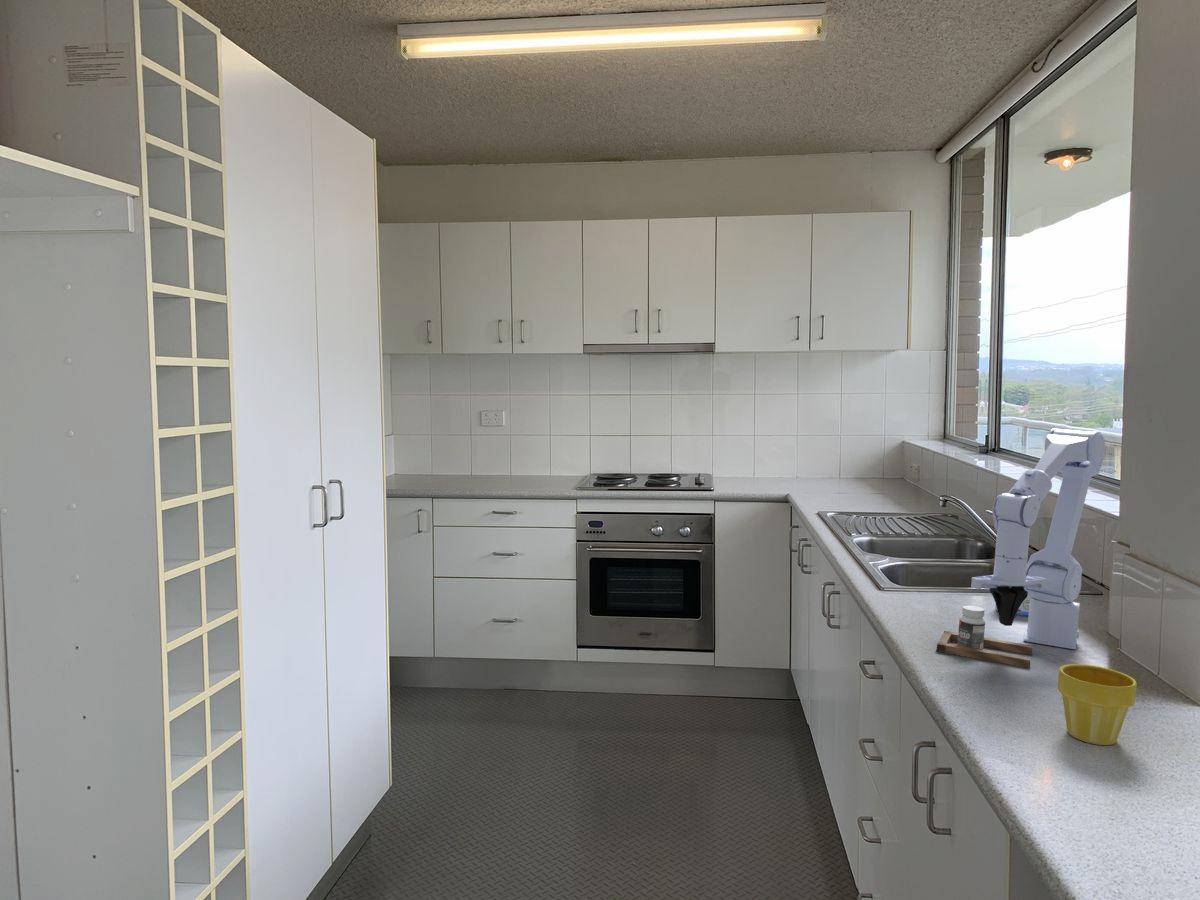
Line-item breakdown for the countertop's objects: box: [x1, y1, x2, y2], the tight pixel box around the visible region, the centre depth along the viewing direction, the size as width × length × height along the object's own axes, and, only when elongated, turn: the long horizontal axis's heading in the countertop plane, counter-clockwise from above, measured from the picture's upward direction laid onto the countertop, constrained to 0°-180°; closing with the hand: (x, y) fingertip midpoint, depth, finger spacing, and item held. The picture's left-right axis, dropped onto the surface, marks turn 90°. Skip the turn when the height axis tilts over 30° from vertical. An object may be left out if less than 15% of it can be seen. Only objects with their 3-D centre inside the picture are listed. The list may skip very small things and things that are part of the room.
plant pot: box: [1057, 663, 1138, 746], centre depth 135 cm, size 10×10×10 cm
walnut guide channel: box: [936, 630, 1034, 669], centre depth 174 cm, size 16×10×2 cm, turn 61°
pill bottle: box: [956, 605, 986, 650], centre depth 175 cm, size 5×5×8 cm
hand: (1005, 624), depth 172 cm, fingers closed
